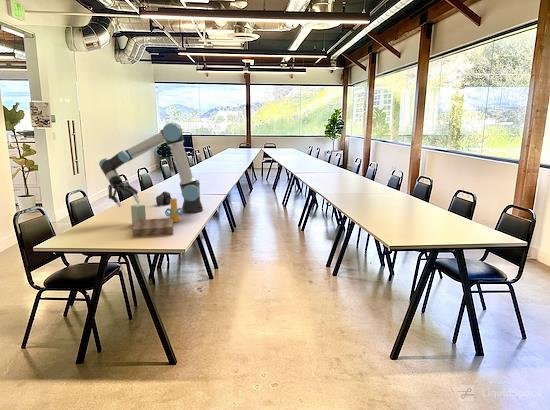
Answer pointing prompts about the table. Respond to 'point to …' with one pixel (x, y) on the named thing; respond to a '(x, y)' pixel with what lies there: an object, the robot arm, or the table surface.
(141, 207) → the sage block
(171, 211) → the orange post with rings
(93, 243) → the table surface
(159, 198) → the camera
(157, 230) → the walnut block
